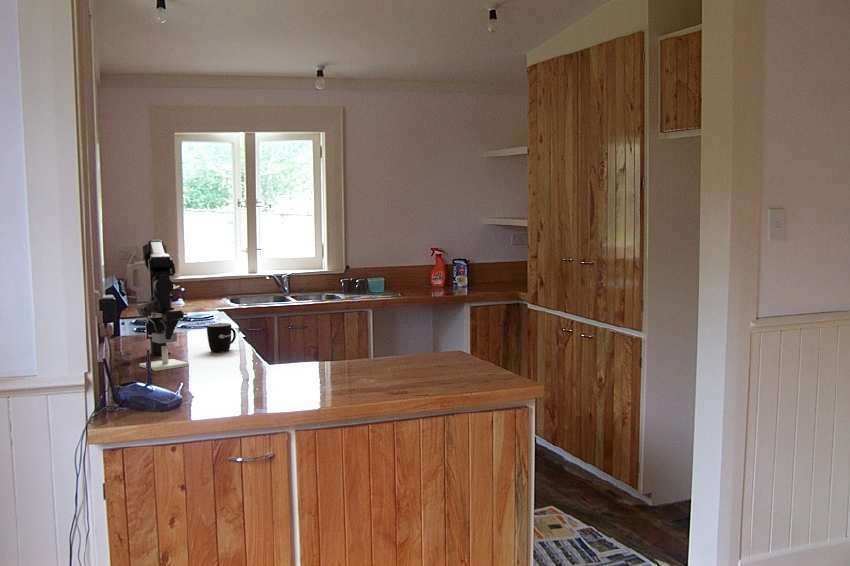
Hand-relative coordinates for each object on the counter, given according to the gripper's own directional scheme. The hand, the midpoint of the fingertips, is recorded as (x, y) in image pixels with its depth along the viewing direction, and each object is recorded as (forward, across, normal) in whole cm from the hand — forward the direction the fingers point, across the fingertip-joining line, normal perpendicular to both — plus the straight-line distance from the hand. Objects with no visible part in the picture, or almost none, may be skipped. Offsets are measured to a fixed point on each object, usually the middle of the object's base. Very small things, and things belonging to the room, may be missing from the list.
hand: (164, 338), depth 278 cm
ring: (+1, 0, 0) cm, 1 cm away
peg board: (+10, -1, 0) cm, 10 cm away
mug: (+10, -14, +30) cm, 34 cm away
